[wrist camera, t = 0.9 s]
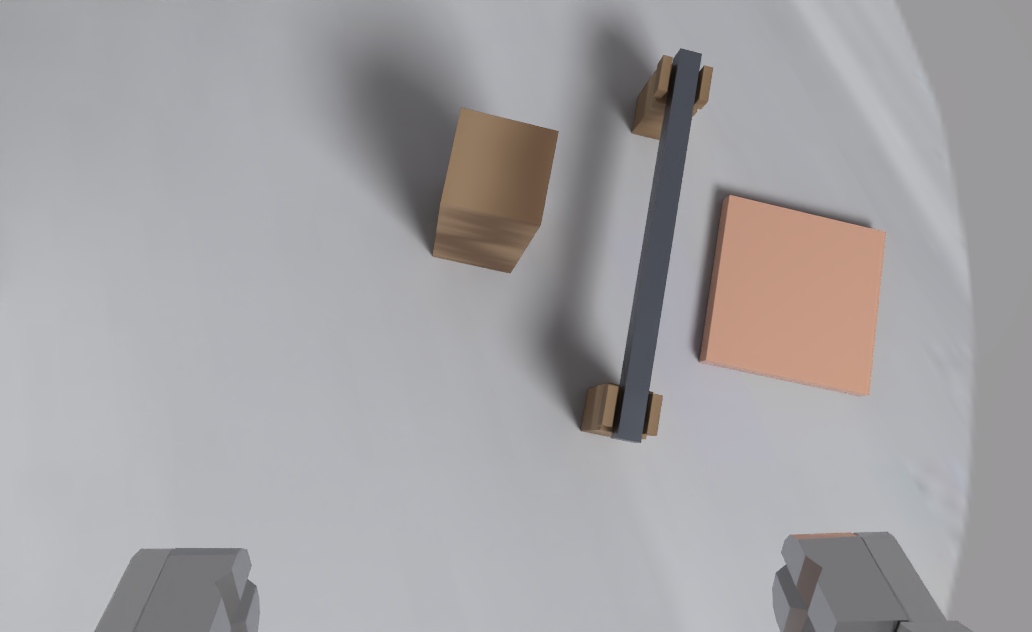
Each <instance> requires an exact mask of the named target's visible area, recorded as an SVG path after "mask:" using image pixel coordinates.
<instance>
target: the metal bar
mask: <svg viewBox="0 0 1032 632" xmlns="http://www.w3.org/2000/svg"><path fill="white" fill-rule="evenodd" d="M701 56H702V54H700V53H697V52H693V51H689V50H685V49H680V50H679V51H678V53H677V54H676V56H675V57H674V59H673V62H672V68H671V74H670V80H669V86H668V93H667V99H666V105H665V111H664V117H663V123H662V129H661V135H660V141H659V147H658V153H657V160H656V166H655V172H654V178H653V184H652V190H651V196H650V202H649V208H648V214H647V220H646V227H645V233H644V239H643V245H642V251H641V257H640V263H639V269H638V275H637V281H636V287H635V294H634V300H633V306H632V312H631V318H630V324H629V330H628V336H627V342H626V348H625V354H624V361H623V367H622V373H621V379H620V385H619V391H618V397H617V403H616V409H615V415H614V422H613V428H612V434H611V438H613V439H618V440H623V441H628V442H633V443H641V439H642V432H643V426H644V419H645V413H646V407H647V400H648V394H649V387H650V381H651V375H652V368H653V362H654V356H655V349H656V343H657V336H658V330H659V324H660V317H661V311H662V305H663V298H664V292H665V285H666V279H667V273H668V266H669V260H670V254H671V247H672V241H673V234H674V228H675V222H676V215H677V209H678V202H679V196H680V190H681V183H682V177H683V171H684V164H685V158H686V151H687V145H688V139H689V132H690V126H691V120H692V113H693V107H694V100H695V94H696V88H697V81H698V75H699V68H700V62H701Z"/></svg>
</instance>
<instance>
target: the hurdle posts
mask: <svg viewBox="0 0 1032 632" xmlns="http://www.w3.org/2000/svg"><path fill="white" fill-rule="evenodd" d="M672 58H673V57H670V56H666V55H663V57H662V58H661V60H660V61H659V63H658V66H657V69H656V71H655V72H654V74H653V75H652V77H651V78H650V80H649V81H648V83H647V84H646V86H645V87H644V89H643V90H642V92H641V93H640V95H639V96H638V100H637V106H636V111H635V117H634V123H633V129H632V133H633V134H637V135H641V136H645V137H650V138H654V139H658V140H660V135H661V129H662V123H663V117H664V111H665V105H666V99H667V93H668V86H669V80H670V74H671V68H672ZM712 72H713V68H712V67H709V66H705V65H704V66H703V68H702V69H701V70H700V71H699V75H698V81H697V88H696V94H695V100H694V107H693V113H692V117H693V116H694V115H695V113H696V112H697V109H702V108H703V106H704V105H705V104H706V103H707V102H708V98H709V91H710V85H711V78H712ZM618 391H619V385H616V384H611V383H606V384H602V385H599V386H595V387H592V388H588V391H587V397H586V403H585V408H584V414H583V420H582V426H581V431H584V432H589V433H594V434H599V435H604V436H609V437H611V434H612V428H613V422H614V415H615V409H616V403H617V397H618ZM662 398H663V396H662V395H657V394H653V392H650V391H649V394H648V400H647V407H646V413H645V419H644V426H643V432H642V439H646V436H647V435H649V436H657V431H658V424H659V418H660V411H661V405H662Z"/></svg>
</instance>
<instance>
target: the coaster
mask: <svg viewBox="0 0 1032 632" xmlns="http://www.w3.org/2000/svg"><path fill="white" fill-rule="evenodd" d="M885 236H886V232H884V231H880V230H875V229H871V228H867V227H863V226H859V225H854V224H850V223H846V222H842V221H838V220H833V219H829V218H825V217H821V216H817V215H812V214H808V213H804V212H800V211H796V210H791V209H787V208H783V207H779V206H775V205H770V204H766V203H762V202H758V201H754V200H749V199H745V198H741V197H737V196H733V195H729V196H727V197H726V198H725V199H724V200H723V202H722V209H721V216H720V223H719V230H718V237H717V244H716V250H715V257H714V264H713V271H712V278H711V285H710V292H709V299H708V305H707V312H706V319H705V326H704V333H703V340H702V347H701V354H700V360H699V362H701V363H706V364H710V365H715V366H720V367H725V368H729V369H734V370H739V371H743V372H748V373H753V374H758V375H762V376H767V377H772V378H776V379H781V380H786V381H791V382H795V383H800V384H805V385H809V386H814V387H819V388H823V389H828V390H833V391H838V392H842V393H847V394H852V395H856V396H865V395H869V392H870V382H871V372H872V363H873V353H874V343H875V333H876V324H877V314H878V304H879V295H880V285H881V275H882V265H883V256H884V246H885Z"/></svg>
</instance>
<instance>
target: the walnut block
mask: <svg viewBox="0 0 1032 632" xmlns="http://www.w3.org/2000/svg"><path fill="white" fill-rule="evenodd" d="M558 132H559V131H556V130H552V129H547V128H543V127H539V126H535V125H531V124H527V123H523V122H518V121H514V120H510V119H506V118H502V117H498V116H494V115H489V114H485V113H481V112H477V111H473V110H469V109H465V108H461V110H460V115H459V119H458V124H457V129H456V133H455V138H454V142H453V147H452V152H451V156H450V161H449V165H448V170H447V175H446V179H445V184H444V188H443V193H442V197H441V202H440V209H439V216H438V222H437V229H436V236H435V243H434V250H433V257H438V258H442V259H447V260H451V261H456V262H460V263H465V264H470V265H474V266H479V267H483V268H488V269H492V270H497V271H501V272H506V273H511V272H512V270H513V268H514V267H515V265H516V264H517V262H518V260H519V259H520V257H521V256H522V254H523V253H524V251H525V249H526V248H527V246H528V245H529V243H530V241H531V240H532V238H533V237H534V235H535V233H536V232H537V230H538V229H539V227H540V225H541V221H542V216H543V210H544V205H545V200H546V195H547V189H548V184H549V179H550V174H551V169H552V163H553V158H554V153H555V148H556V142H557V137H558Z"/></svg>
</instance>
